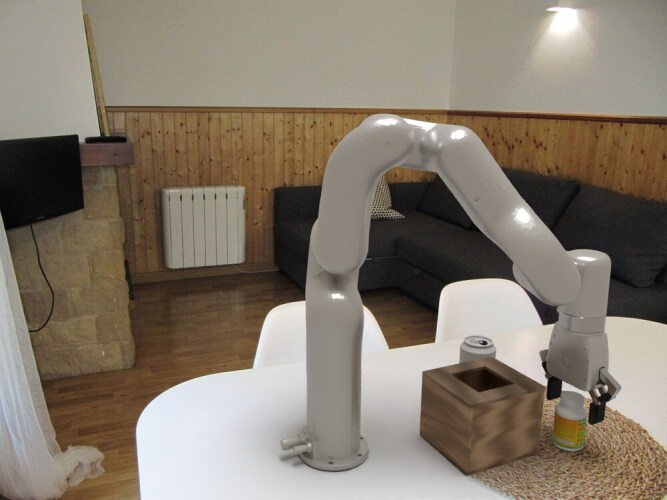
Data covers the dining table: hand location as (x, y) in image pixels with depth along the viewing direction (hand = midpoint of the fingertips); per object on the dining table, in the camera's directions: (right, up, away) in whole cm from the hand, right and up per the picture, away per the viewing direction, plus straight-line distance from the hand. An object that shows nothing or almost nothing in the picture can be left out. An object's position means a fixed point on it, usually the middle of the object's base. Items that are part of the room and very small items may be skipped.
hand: (573, 410), depth 107 cm
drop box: (-17, -7, +2) cm, 18 cm away
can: (-13, -2, +22) cm, 25 cm away
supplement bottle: (-1, -7, +2) cm, 7 cm away
